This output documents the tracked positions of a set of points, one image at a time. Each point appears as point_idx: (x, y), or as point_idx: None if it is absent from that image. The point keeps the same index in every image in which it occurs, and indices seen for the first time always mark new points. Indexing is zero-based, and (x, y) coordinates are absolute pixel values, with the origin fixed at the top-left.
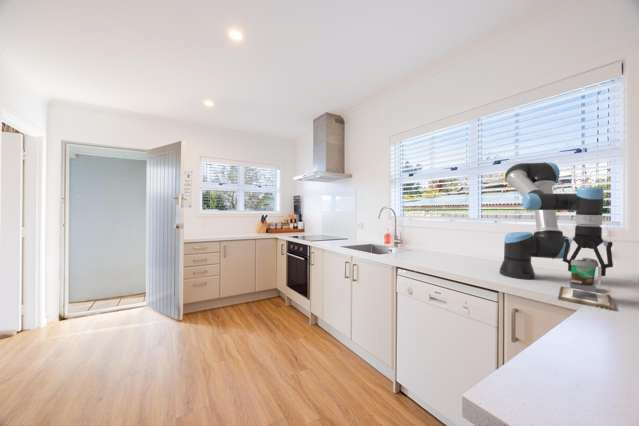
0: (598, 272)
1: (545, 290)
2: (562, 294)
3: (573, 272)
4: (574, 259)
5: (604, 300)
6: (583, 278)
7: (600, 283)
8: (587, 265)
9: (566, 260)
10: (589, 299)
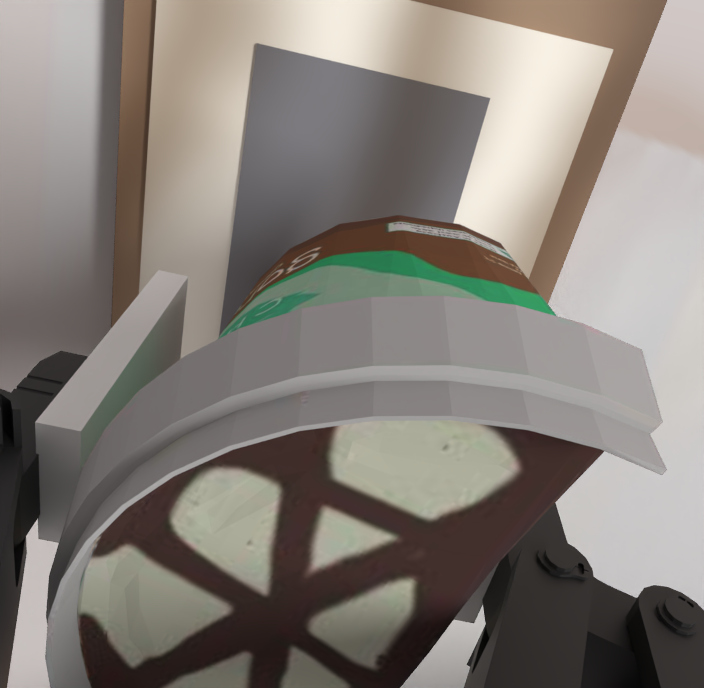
0: (121, 379)
1: (648, 352)
2: (569, 159)
3: (521, 293)
4: (498, 631)
5: (180, 173)
6: (364, 250)
7: (156, 275)
8: (293, 329)
9: (639, 614)
10: (325, 92)
